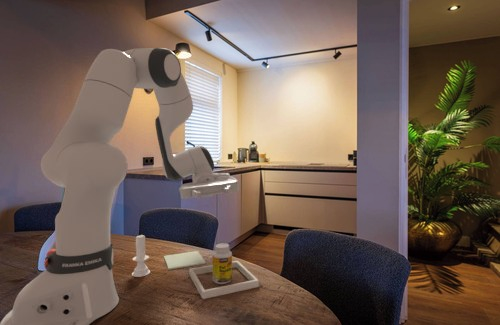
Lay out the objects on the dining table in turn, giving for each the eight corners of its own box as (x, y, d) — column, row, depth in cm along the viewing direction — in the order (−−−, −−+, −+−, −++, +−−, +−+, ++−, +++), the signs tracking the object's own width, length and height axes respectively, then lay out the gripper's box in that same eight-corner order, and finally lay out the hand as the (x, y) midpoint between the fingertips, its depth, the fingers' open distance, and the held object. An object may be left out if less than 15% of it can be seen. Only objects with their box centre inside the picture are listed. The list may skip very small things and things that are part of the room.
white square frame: (202, 299, 69) (202, 292, 69) (189, 274, 84) (189, 268, 84) (258, 286, 76) (258, 280, 76) (237, 266, 90) (237, 260, 90)
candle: (154, 271, 86) (153, 233, 86) (140, 278, 81) (140, 237, 81) (141, 268, 88) (140, 231, 88) (127, 275, 84) (126, 235, 83)
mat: (168, 270, 87) (168, 268, 87) (163, 257, 98) (163, 255, 98) (206, 263, 92) (206, 262, 92) (197, 252, 103) (197, 250, 103)
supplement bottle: (218, 287, 76) (217, 249, 76) (209, 279, 80) (209, 244, 80) (235, 281, 79) (235, 246, 79) (226, 274, 84) (226, 241, 83)
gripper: (177, 179, 99) (179, 188, 86) (232, 172, 105) (242, 180, 92) (179, 196, 100) (181, 207, 87) (234, 188, 106) (244, 198, 93)
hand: (213, 193), depth 90 cm, fingers open, 8 cm apart
